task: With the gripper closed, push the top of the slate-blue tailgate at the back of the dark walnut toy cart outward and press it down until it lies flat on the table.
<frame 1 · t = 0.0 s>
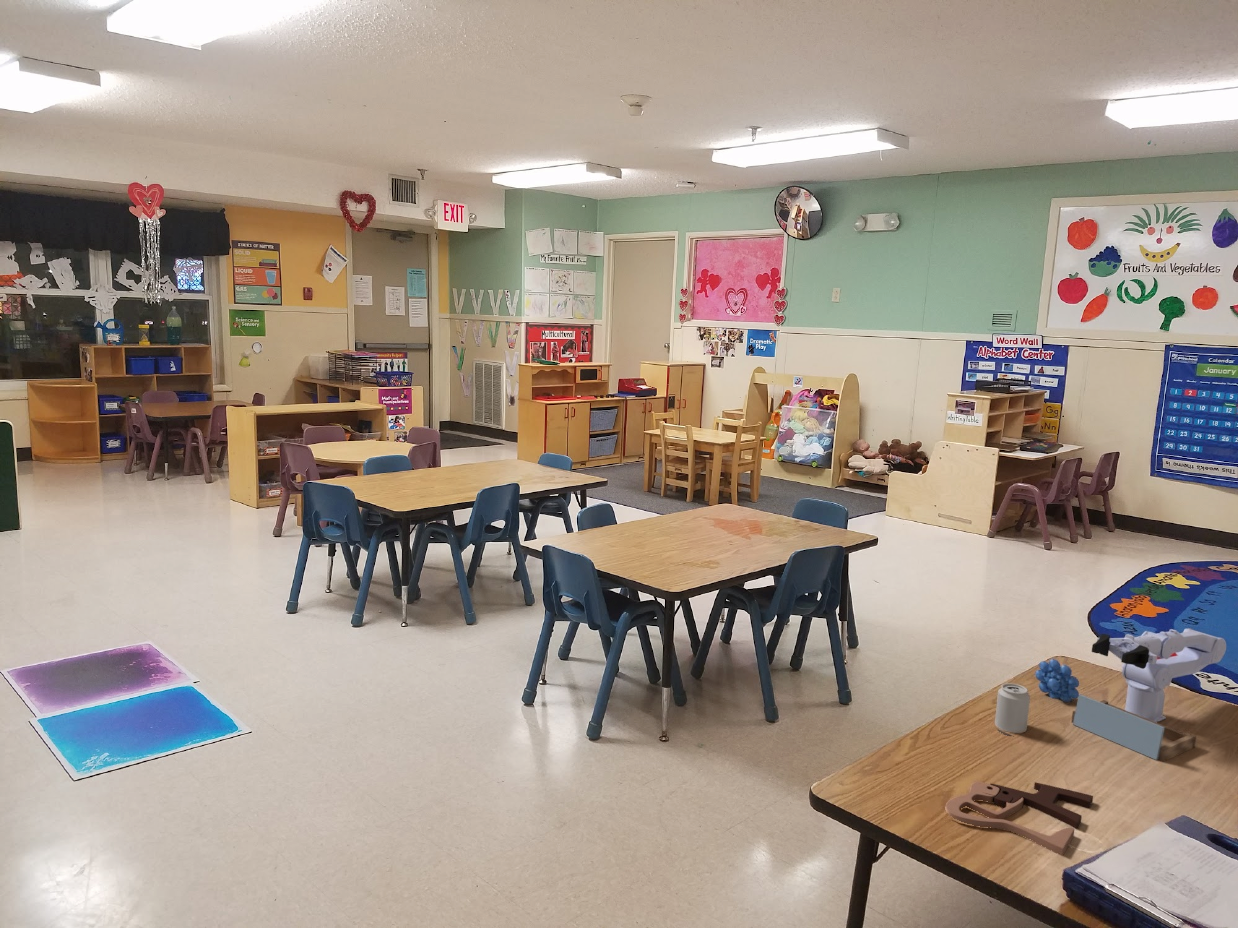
hand: (1108, 653, 226), 22 cm above the table, tool horizontal, fingers open, 7 cm apart
can: (1010, 732, 231), on the table
tailgate: (1116, 725, 223), point 6 cm above the table, hinge at -8.0°, touching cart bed
wood carving: (1017, 812, 195), on the table
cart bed: (1130, 739, 227), on the table
grapes: (1053, 703, 248), on the table
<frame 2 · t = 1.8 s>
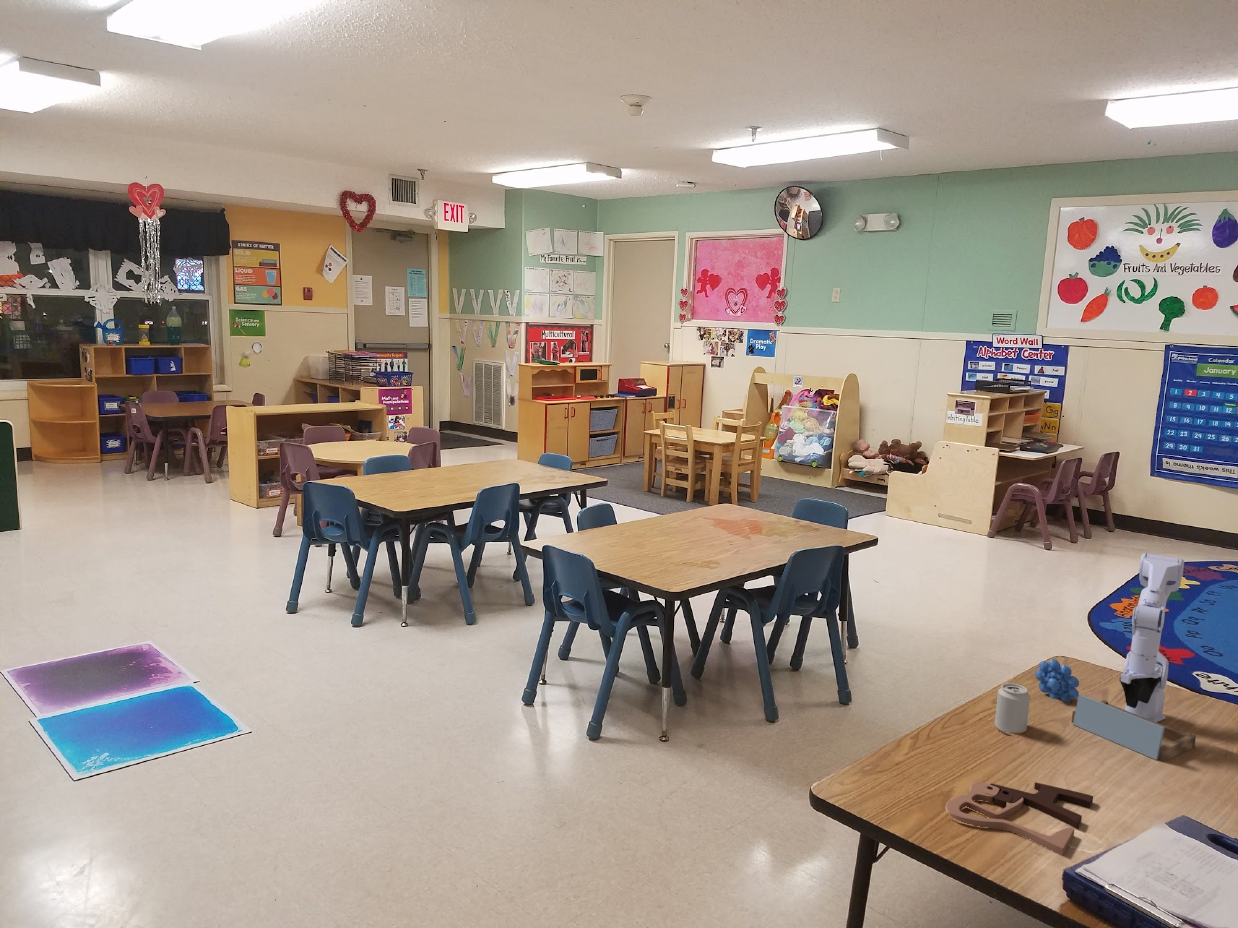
hand: (1137, 704, 226), 9 cm above the table, tool pointing down, fingers open, 5 cm apart
nothing on the table moved.
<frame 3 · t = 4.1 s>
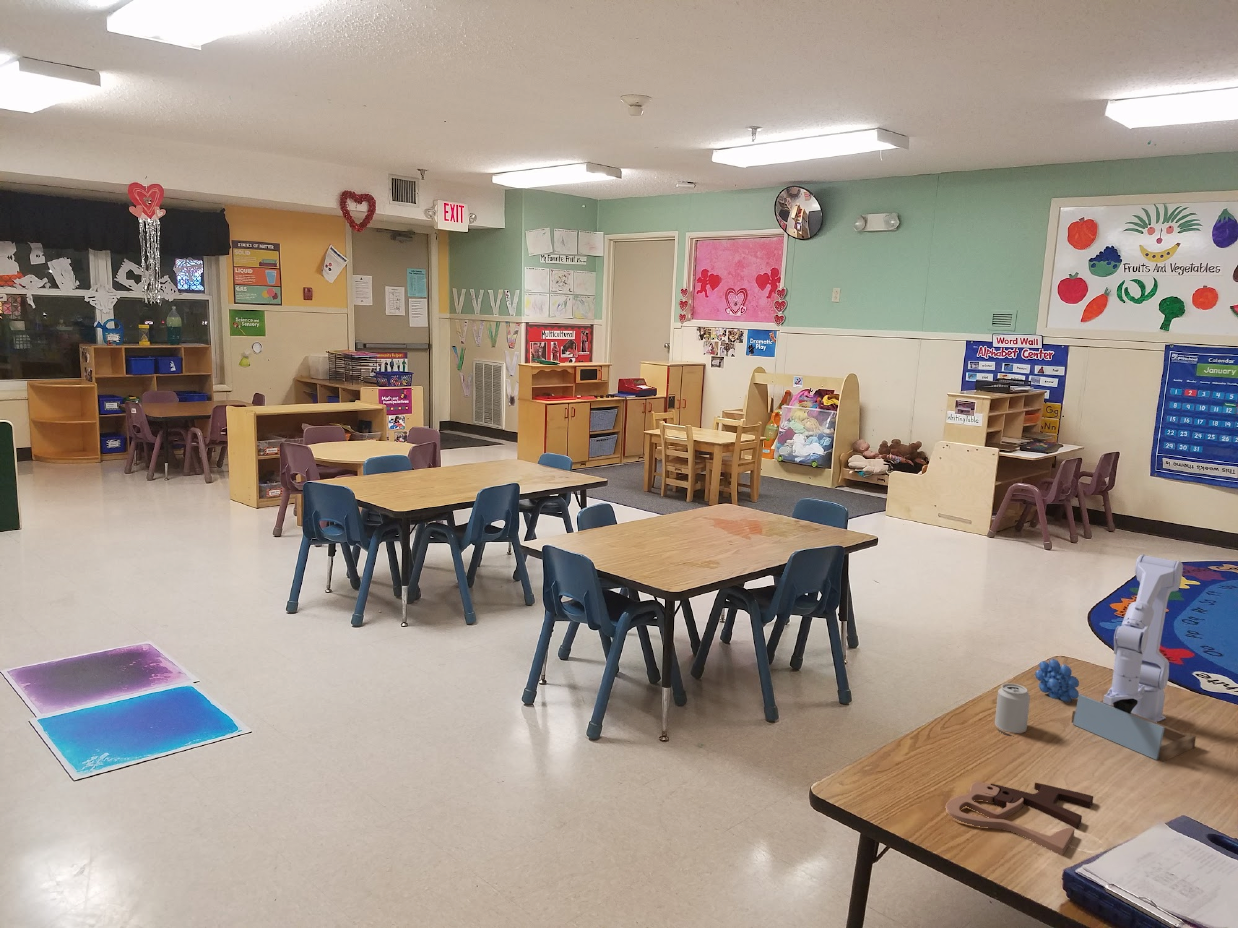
hand: (1120, 724, 224), 5 cm above the table, tool pointing down, fingers closed, pressing on tailgate
tailgate: (1116, 725, 223), point 6 cm above the table, hinge at -8.0°, touching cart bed, gripper
everything else where it was.
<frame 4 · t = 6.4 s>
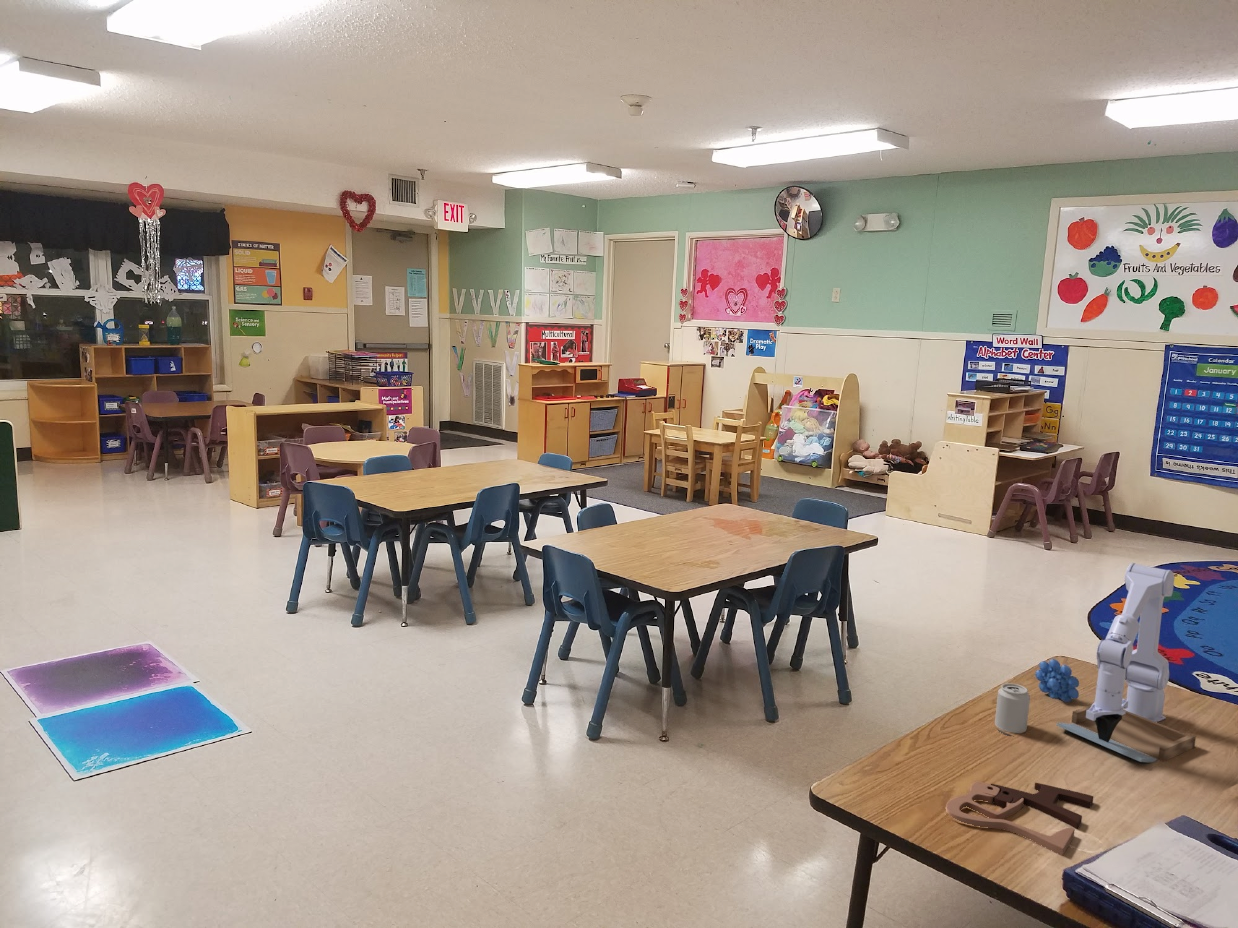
hand: (1103, 740, 220), 3 cm above the table, tool pointing down, fingers closed, pressing on tailgate
tailgate: (1105, 741, 221), point 2 cm above the table, hinge at 73.9°, touching gripper
everything else where it was.
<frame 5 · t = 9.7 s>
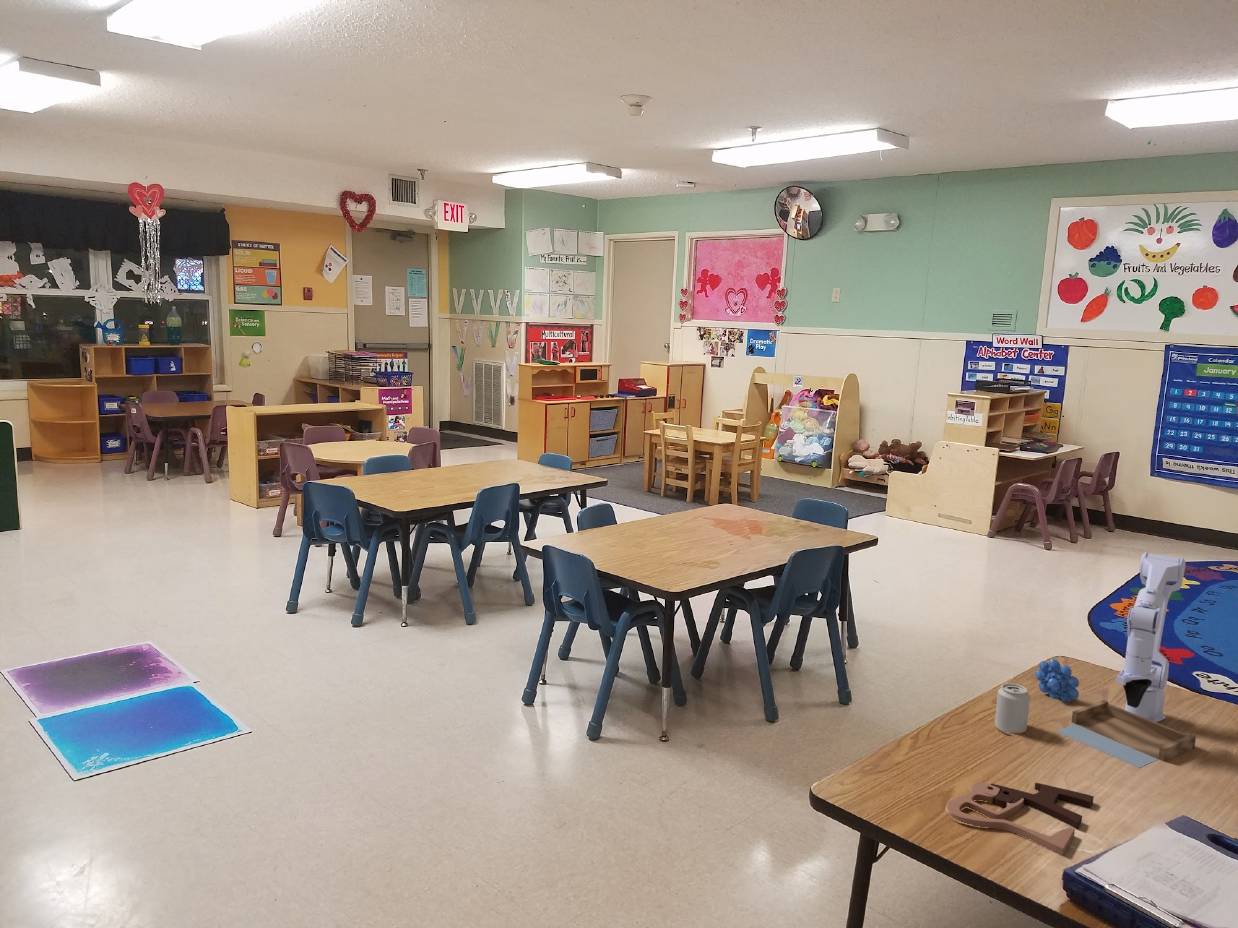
hand: (1132, 705, 225), 9 cm above the table, tool pointing down, fingers closed
tailgate: (1105, 746, 221), point 1 cm above the table, hinge at 89.6°
everything else where it was.
at the end: tailgate at +90° (first picture: -8°); can moved 0.2 cm from its start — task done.
